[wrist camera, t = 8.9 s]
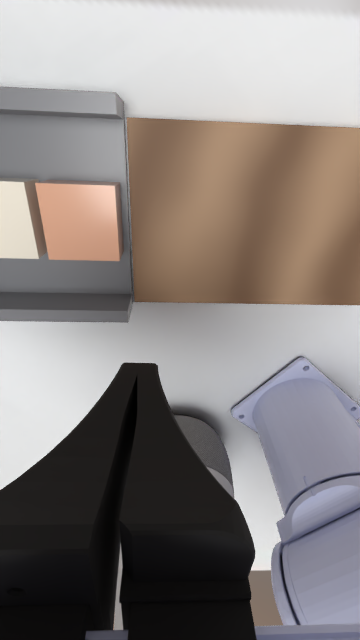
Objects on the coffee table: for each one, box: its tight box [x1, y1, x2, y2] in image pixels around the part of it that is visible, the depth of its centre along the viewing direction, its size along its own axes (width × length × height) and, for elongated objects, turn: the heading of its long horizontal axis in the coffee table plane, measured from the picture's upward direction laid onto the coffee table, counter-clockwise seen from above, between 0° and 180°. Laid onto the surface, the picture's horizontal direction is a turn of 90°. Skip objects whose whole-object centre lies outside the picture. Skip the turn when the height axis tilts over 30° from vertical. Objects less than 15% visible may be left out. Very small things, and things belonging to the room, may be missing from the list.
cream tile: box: [0, 178, 48, 259], centre depth 17 cm, size 4×4×2 cm
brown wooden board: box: [127, 117, 360, 305], centre depth 18 cm, size 16×10×2 cm, turn 88°
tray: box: [0, 87, 133, 322], centre depth 17 cm, size 12×12×3 cm
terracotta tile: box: [35, 180, 124, 261], centre depth 17 cm, size 4×4×2 cm
